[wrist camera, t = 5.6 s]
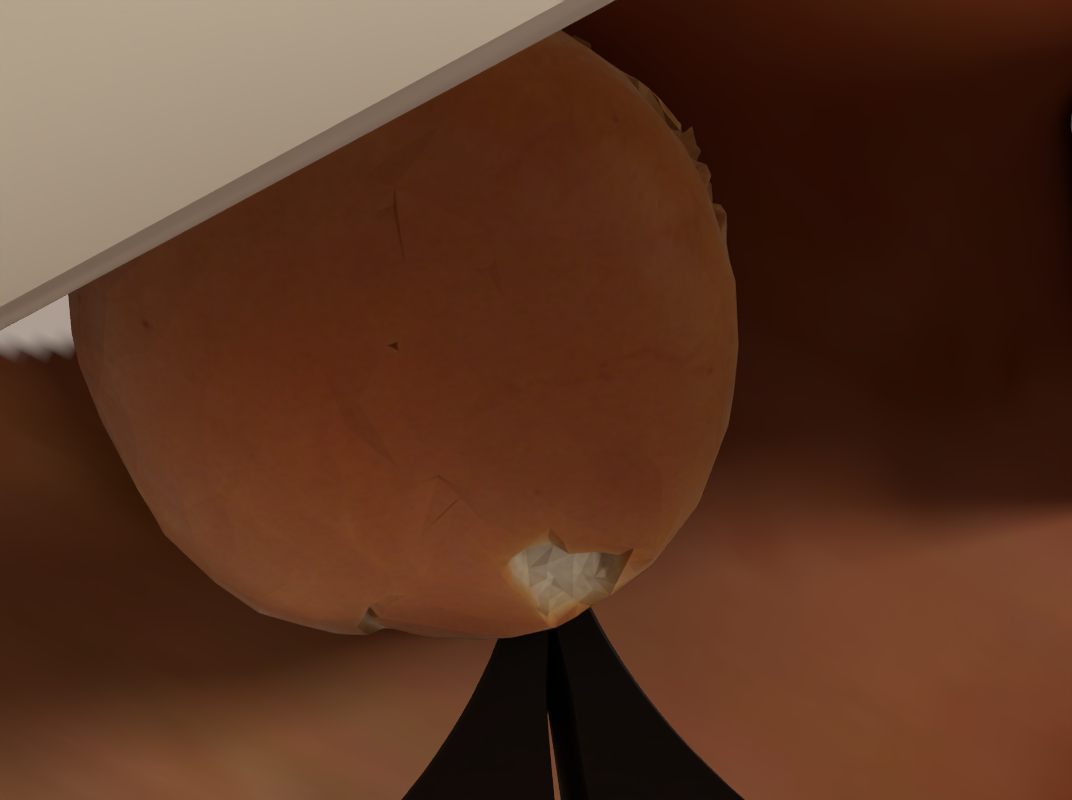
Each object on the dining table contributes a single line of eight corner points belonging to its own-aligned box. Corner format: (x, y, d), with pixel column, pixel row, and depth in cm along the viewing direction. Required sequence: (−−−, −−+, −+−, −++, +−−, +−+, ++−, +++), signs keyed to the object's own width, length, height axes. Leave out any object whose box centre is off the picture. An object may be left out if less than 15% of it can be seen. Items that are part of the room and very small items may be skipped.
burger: (342, -128, 10) (205, -326, 5) (803, 235, 12) (967, 302, 8) (100, 391, 13) (-111, 532, 8) (504, 600, 15) (502, 794, 11)
